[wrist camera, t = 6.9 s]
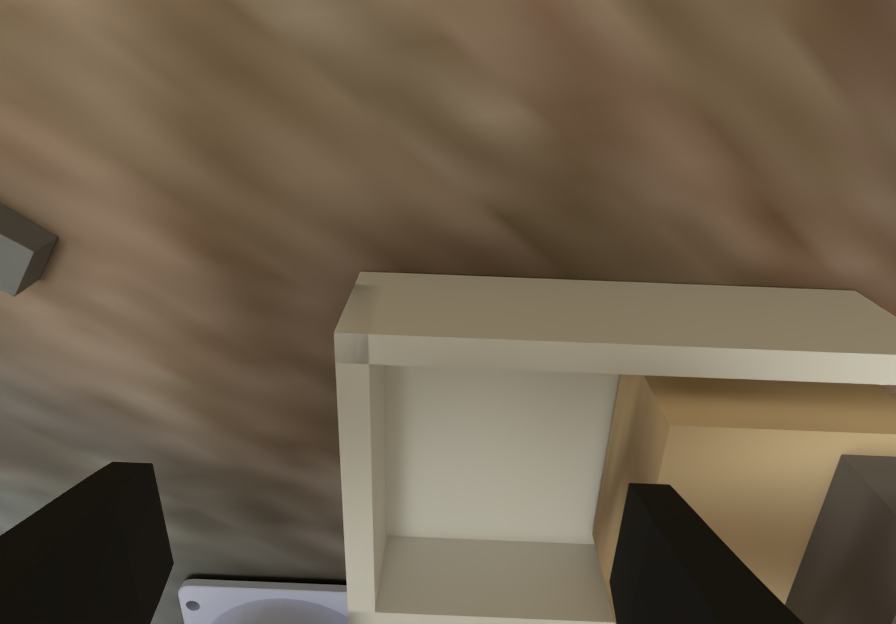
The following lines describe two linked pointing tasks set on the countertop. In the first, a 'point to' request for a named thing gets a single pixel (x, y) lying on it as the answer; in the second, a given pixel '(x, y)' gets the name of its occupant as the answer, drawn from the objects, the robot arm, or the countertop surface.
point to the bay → (534, 422)
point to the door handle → (21, 251)
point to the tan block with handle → (769, 482)
